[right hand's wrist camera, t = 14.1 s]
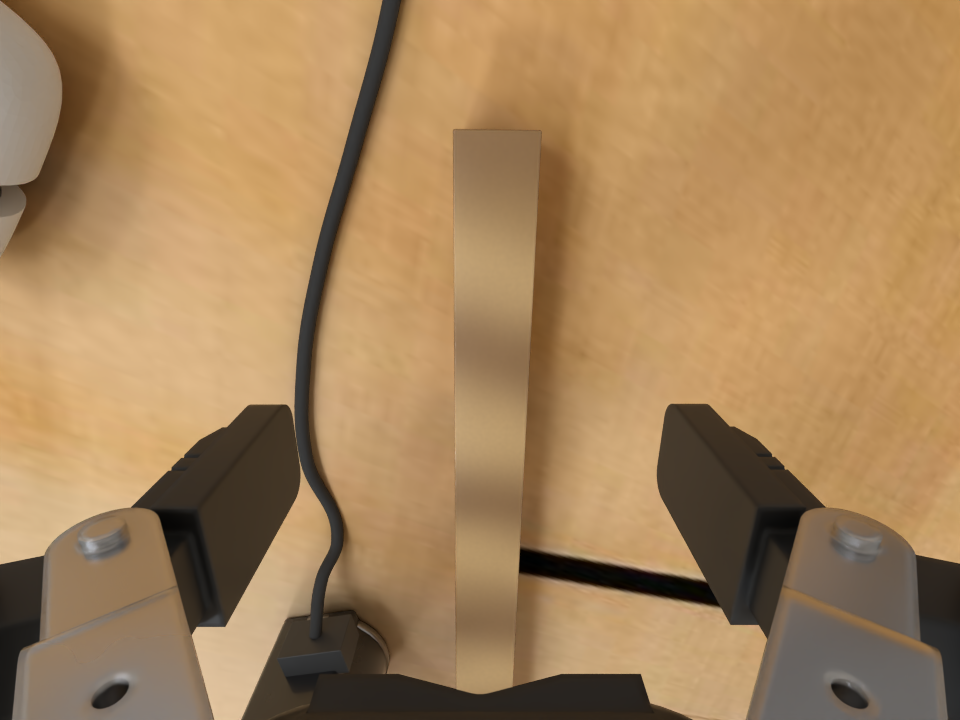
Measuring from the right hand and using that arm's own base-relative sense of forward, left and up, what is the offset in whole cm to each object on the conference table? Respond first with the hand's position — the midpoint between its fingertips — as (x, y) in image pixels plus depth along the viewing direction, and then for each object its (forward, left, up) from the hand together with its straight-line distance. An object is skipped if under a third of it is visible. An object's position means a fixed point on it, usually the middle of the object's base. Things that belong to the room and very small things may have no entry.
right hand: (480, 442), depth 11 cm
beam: (+33, -6, -22) cm, 40 cm away
